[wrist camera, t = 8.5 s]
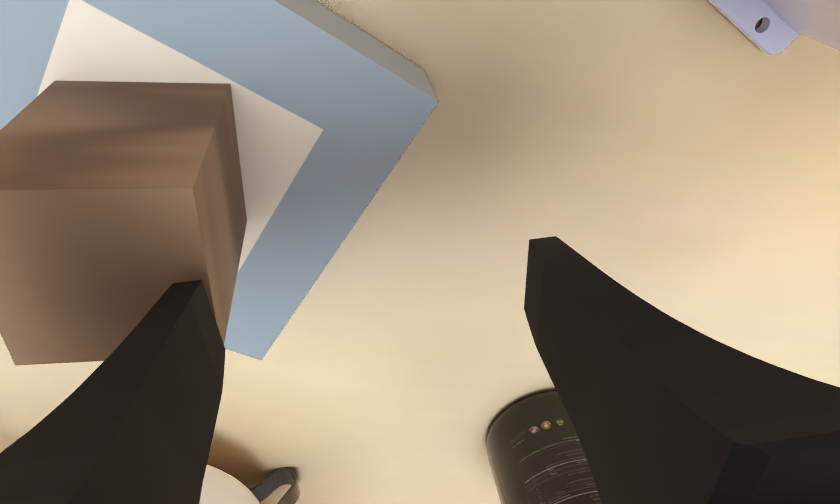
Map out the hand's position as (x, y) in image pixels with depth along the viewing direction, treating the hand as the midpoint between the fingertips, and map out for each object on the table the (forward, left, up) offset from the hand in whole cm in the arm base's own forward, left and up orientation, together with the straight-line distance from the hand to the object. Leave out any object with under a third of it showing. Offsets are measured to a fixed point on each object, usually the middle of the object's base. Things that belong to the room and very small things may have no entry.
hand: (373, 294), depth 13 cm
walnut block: (+5, +3, -6) cm, 9 cm away
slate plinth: (+5, +3, -9) cm, 11 cm away
